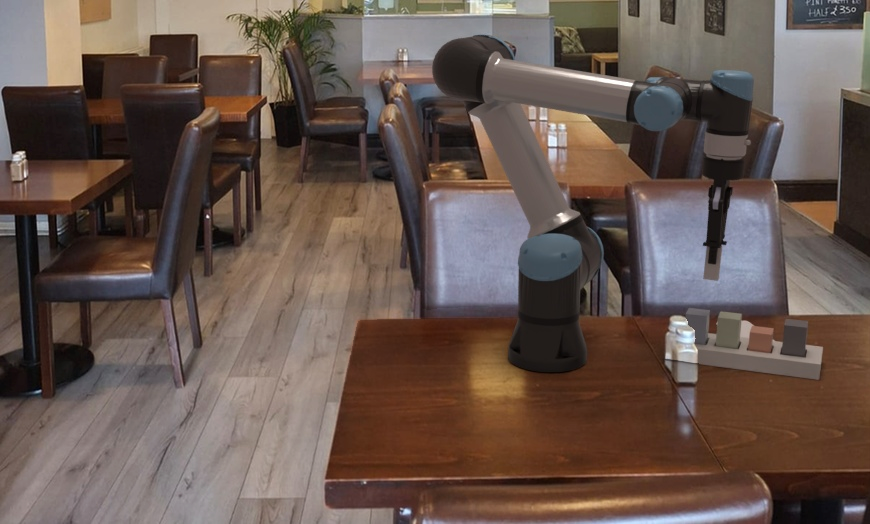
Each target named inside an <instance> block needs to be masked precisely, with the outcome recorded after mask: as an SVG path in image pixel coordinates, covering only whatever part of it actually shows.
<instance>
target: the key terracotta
mask: <svg viewBox="0 0 870 524" xmlns="http://www.w3.org/2000/svg"><path fill="white" fill-rule="evenodd" d="M774 329H775V328H774V327H766V326H757V325H754V326H752V327H751V330H750V335H749V347H748V351H757V352H765V353H772V343H773V340H774V331H775V330H774Z"/></svg>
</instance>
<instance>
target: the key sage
mask: <svg viewBox="0 0 870 524" xmlns="http://www.w3.org/2000/svg"><path fill="white" fill-rule="evenodd" d="M742 318H743V313H739V312H738V313H737V312H731V311H730V312H729V311H720V312H719V314H718V316H717V322H716V323H717V326H716V334H717V335H716V347H724V348H732V349H738V347H739V344H740V333H741V321H743V320H742Z"/></svg>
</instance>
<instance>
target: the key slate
mask: <svg viewBox="0 0 870 524" xmlns="http://www.w3.org/2000/svg"><path fill="white" fill-rule="evenodd" d="M710 314H711V310H710V309H702V308H695V307H694V308H693V307H688V309H687V310H686V312H685V318H686V319H687V321H688V325H689V326H690V327H692V328H693V329H694V330H695V338H696V339H695V344H700V345H706V343H707V340H708V333H709V330H710Z"/></svg>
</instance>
